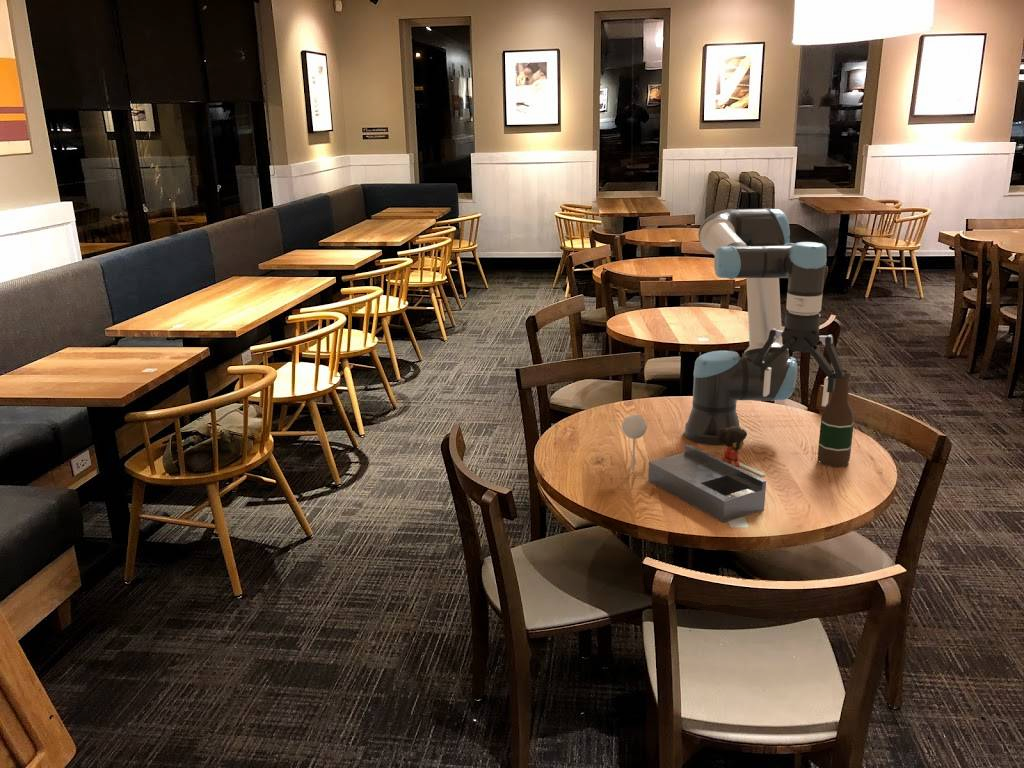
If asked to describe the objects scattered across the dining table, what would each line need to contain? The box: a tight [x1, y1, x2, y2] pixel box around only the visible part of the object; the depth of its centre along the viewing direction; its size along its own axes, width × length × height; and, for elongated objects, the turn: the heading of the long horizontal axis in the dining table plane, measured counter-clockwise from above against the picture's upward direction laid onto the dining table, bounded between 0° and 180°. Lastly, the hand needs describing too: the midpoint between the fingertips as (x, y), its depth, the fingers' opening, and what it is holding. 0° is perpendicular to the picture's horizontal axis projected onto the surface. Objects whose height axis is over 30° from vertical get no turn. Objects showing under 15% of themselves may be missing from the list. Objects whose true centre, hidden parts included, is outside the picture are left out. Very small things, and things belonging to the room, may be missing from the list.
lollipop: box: [621, 414, 648, 473], centre depth 201 cm, size 6×6×15 cm
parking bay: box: [738, 461, 766, 478], centre depth 201 cm, size 12×12×1 cm
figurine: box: [718, 426, 748, 468], centre depth 199 cm, size 6×6×12 cm
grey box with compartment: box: [647, 443, 767, 523], centre depth 188 cm, size 26×12×7 cm, turn 29°
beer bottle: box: [817, 369, 855, 468], centre depth 203 cm, size 8×8×24 cm
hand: (794, 399), depth 192 cm, fingers open, 13 cm apart
